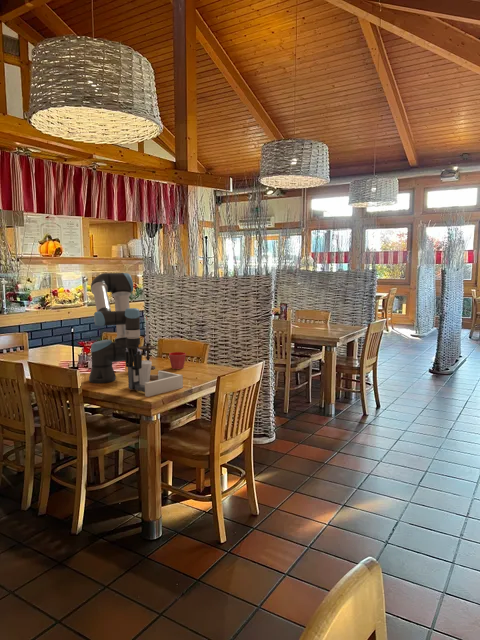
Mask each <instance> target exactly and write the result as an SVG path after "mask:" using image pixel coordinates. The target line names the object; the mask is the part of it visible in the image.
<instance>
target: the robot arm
mask: <svg viewBox="0 0 480 640" xmlns="http://www.w3.org/2000/svg"><path fill="white" fill-rule="evenodd" d="M90 292H91V294H92V295H93V299H94V303H95V310H96V311H95V312H94V314H93V320H94V325H95V326H96V327H97V326H98V327H100V326H101V327H103V326H116V337H115V338H114V341H112V340H111V339H103V340H98V341H94V342H92V344H91V346H90V352H91V369H90V373H89V376H88V382H89V381H90V382H89V383H93V384H106V383H112V382H115V381H116V378H117V377H116V373H115V371H114V368H113V363H117V362H124V363H125V367H127V368H128V367H130V366H134V369H133V376H134V382H137V381H139V376H138V375H139V369H141V368H142V360H143V353H144V352H143V351H144V350H140V349H139V347H140V345H141V338H140V337H141V327H140V323H141V321H140V316H141V315H140V309H139V308H137V307H130V297H131V295H132V293H133V292H134V281H133V278H132V275H131V274H130V273H128V272H127V273H125V272H110V273H109V272H103V273H101V274H98V275H96V277H94V278H93V280H92V281H91V284H90ZM108 293H111V296H112V297H113V299H114V310H115V311H114V310H112V309H111V305H110V300H109V295H108Z"/></svg>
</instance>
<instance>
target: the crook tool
mask: <svg viewBox="0 0 480 640" xmlns="http://www.w3.org/2000/svg"><path fill="white" fill-rule="evenodd" d="M133 369H134V365H133V366H130V367H127V376H128V390H131V391H133V390H135V391H138V392H143V393H145V385H141V384H140V380H139V381H137V382H134V376H133ZM138 376H139V375H138Z"/></svg>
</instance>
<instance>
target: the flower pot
mask: <svg viewBox="0 0 480 640" xmlns="http://www.w3.org/2000/svg"><path fill="white" fill-rule="evenodd" d="M186 355H187V353H186V352H184V351H183V352H181V351H176V352H175V351H173V352H169V354H168V357H169V361H170V366H171V369H172V370H179V369H181V370H182V369H184V368H185V367H184V366H185V362H186Z"/></svg>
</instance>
